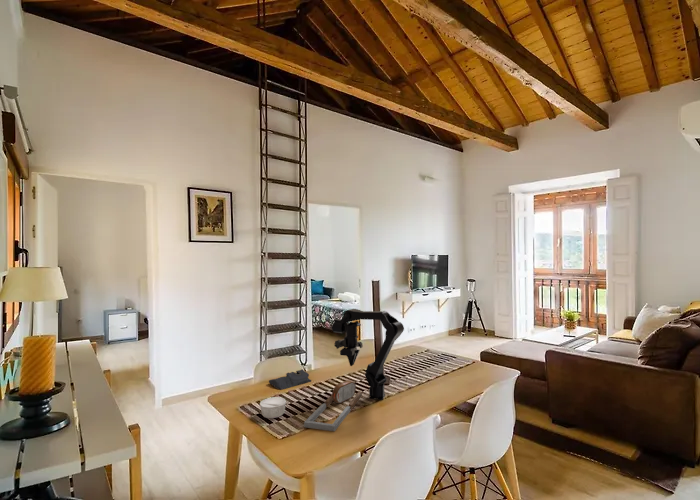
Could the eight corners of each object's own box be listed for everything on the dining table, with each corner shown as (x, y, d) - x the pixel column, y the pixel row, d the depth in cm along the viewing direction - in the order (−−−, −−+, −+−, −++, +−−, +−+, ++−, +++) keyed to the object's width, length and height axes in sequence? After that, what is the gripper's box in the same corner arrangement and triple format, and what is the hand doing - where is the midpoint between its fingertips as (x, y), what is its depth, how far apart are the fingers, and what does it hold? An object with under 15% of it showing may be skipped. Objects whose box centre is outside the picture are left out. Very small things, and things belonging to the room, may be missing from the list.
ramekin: (260, 421, 157) (260, 408, 157) (259, 410, 167) (259, 398, 168) (287, 417, 160) (287, 405, 160) (284, 407, 171) (284, 395, 171)
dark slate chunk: (264, 384, 203) (264, 375, 203) (298, 375, 217) (298, 366, 217) (279, 391, 191) (279, 382, 191) (314, 381, 206) (314, 372, 206)
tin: (352, 394, 184) (351, 377, 185) (357, 396, 182) (356, 378, 183) (331, 404, 173) (331, 386, 173) (336, 406, 171) (336, 387, 171)
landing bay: (350, 411, 165) (350, 406, 165) (334, 431, 146) (334, 426, 146) (323, 407, 169) (322, 403, 169) (304, 427, 150) (304, 422, 151)
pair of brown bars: (361, 396, 182) (361, 392, 182) (351, 409, 167) (351, 404, 167) (336, 393, 186) (336, 389, 186) (324, 406, 171) (324, 401, 171)
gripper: (342, 329, 201) (343, 359, 201) (329, 337, 183) (330, 369, 183) (362, 331, 197) (363, 360, 197) (351, 338, 180) (352, 371, 179)
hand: (351, 365), depth 189 cm, fingers closed
